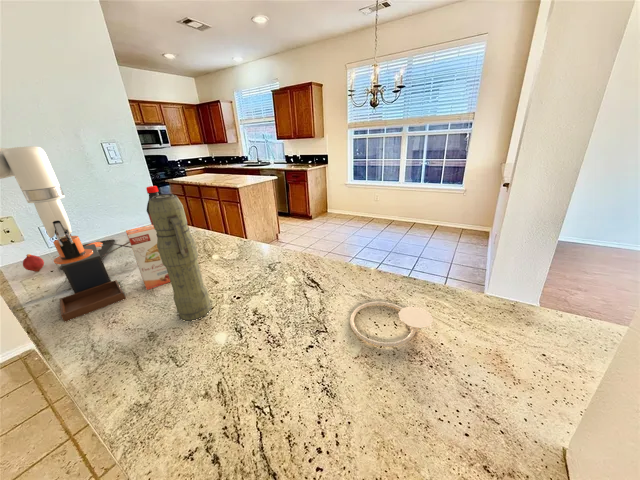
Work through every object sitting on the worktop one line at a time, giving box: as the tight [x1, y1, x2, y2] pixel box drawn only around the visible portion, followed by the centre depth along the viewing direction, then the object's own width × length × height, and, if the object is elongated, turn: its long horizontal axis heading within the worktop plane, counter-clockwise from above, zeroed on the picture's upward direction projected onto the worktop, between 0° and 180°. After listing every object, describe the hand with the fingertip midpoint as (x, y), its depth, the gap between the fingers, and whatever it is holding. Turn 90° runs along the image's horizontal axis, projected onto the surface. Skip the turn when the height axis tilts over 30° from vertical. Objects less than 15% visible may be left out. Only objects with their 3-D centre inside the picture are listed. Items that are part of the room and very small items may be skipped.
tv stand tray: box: [59, 279, 127, 323], centre depth 85 cm, size 15×12×2 cm
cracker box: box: [125, 224, 171, 291], centre depth 92 cm, size 14×6×21 cm, turn 129°
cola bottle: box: [145, 185, 160, 225], centre depth 114 cm, size 8×8×30 cm
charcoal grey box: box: [60, 244, 112, 294], centre depth 95 cm, size 10×16×12 cm, turn 44°
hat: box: [52, 235, 93, 265], centre depth 78 cm, size 9×9×6 cm
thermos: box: [148, 193, 212, 322], centre depth 71 cm, size 9×12×35 cm
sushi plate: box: [59, 239, 132, 271], centre depth 122 cm, size 29×30×4 cm
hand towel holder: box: [349, 301, 434, 348], centre depth 68 cm, size 17×4×21 cm
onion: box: [22, 253, 45, 273], centre depth 107 cm, size 6×6×8 cm
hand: (72, 253), depth 79 cm, fingers closed on hat, 5 cm apart
